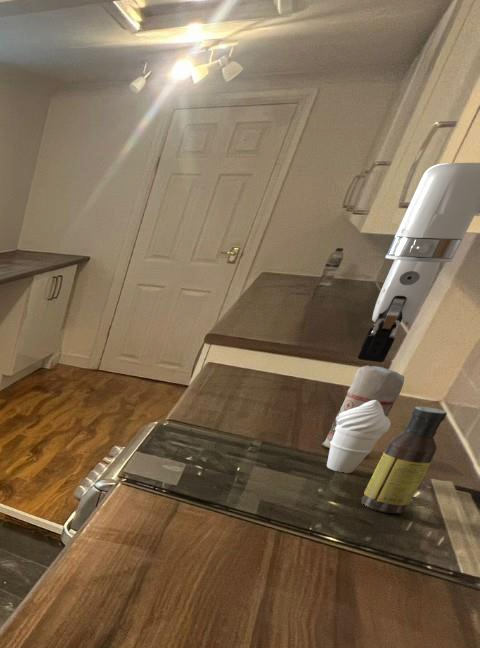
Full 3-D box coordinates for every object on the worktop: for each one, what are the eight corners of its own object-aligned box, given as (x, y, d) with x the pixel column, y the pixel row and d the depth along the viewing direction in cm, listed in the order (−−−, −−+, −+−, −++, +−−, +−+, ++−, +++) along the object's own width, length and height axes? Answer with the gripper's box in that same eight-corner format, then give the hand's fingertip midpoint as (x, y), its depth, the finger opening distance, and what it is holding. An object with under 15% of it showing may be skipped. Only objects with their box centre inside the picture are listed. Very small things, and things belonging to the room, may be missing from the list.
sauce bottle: (411, 513, 110) (469, 414, 101) (388, 517, 108) (445, 417, 100) (371, 498, 115) (423, 403, 107) (349, 501, 114) (400, 405, 105)
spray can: (317, 440, 143) (355, 361, 134) (361, 447, 139) (403, 366, 131) (325, 452, 137) (366, 369, 128) (372, 459, 133) (417, 375, 124)
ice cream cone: (347, 479, 123) (384, 408, 116) (304, 463, 130) (337, 395, 123) (374, 475, 125) (411, 404, 118) (330, 459, 132) (363, 392, 125)
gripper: (459, 255, 85) (401, 369, 92) (453, 249, 96) (402, 351, 103) (387, 251, 90) (338, 360, 97) (390, 246, 100) (345, 344, 108)
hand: (371, 355), depth 100 cm, fingers open, 9 cm apart
